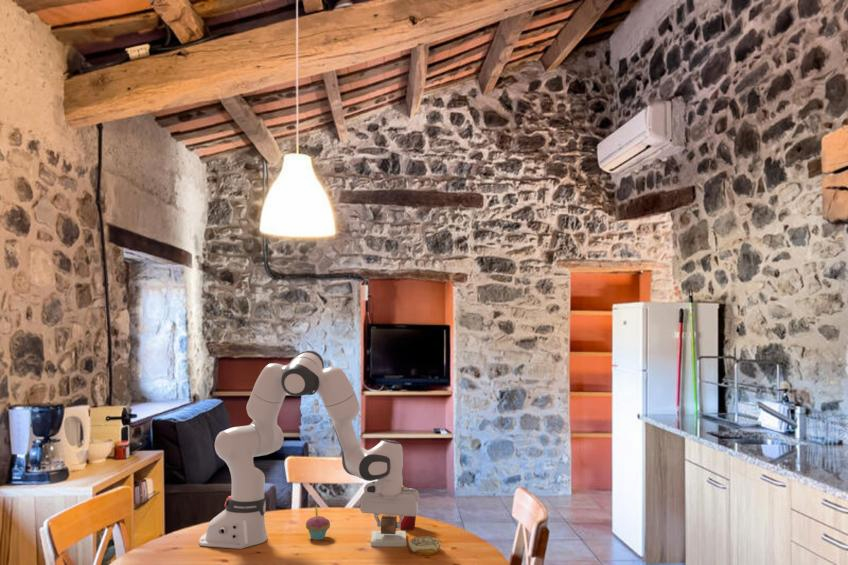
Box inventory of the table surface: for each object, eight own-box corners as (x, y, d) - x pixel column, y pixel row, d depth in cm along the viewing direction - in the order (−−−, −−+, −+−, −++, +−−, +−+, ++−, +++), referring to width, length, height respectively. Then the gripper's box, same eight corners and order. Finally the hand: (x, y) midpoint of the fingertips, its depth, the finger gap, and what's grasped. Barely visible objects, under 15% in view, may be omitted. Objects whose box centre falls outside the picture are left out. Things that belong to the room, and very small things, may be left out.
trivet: (370, 546, 222) (371, 541, 222) (371, 535, 234) (371, 530, 234) (406, 546, 223) (406, 541, 223) (405, 535, 235) (405, 530, 235)
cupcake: (324, 542, 225) (325, 506, 226) (301, 540, 227) (302, 504, 228) (332, 534, 233) (333, 500, 234) (310, 532, 235) (311, 498, 236)
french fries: (417, 525, 246) (418, 485, 247) (415, 532, 238) (416, 490, 239) (394, 524, 247) (395, 484, 248) (391, 531, 239) (392, 489, 240)
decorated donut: (409, 556, 213) (409, 545, 214) (408, 546, 224) (408, 534, 224) (441, 556, 214) (441, 544, 214) (438, 545, 225) (438, 534, 225)
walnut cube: (380, 533, 226) (381, 519, 226) (382, 529, 231) (382, 515, 231) (395, 534, 226) (395, 519, 226) (396, 530, 231) (396, 515, 231)
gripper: (420, 486, 231) (419, 526, 230) (364, 483, 234) (362, 522, 233) (417, 490, 225) (416, 532, 224) (359, 487, 228) (358, 527, 227)
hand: (388, 527), depth 229 cm, fingers closed on walnut cube, 5 cm apart
